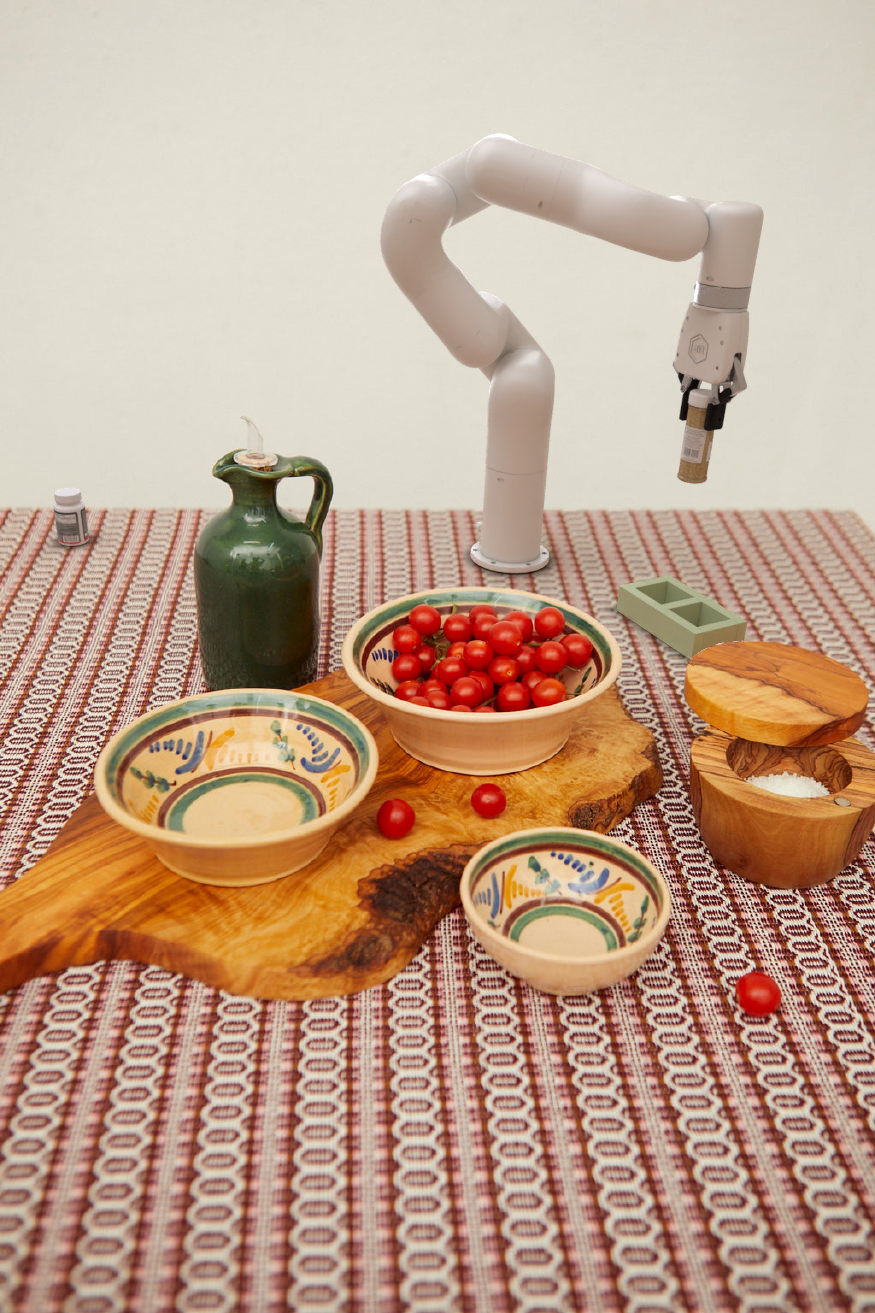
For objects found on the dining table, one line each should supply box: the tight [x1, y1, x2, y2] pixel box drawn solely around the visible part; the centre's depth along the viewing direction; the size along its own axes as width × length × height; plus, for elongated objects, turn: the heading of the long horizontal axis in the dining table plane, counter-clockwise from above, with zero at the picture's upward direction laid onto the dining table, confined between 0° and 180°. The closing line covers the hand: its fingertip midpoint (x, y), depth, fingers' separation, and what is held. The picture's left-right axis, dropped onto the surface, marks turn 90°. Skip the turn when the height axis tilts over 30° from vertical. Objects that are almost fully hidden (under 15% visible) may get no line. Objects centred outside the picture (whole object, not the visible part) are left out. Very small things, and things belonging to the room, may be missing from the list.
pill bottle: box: [53, 487, 90, 547], centre depth 173 cm, size 5×5×8 cm
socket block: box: [616, 574, 748, 660], centre depth 155 cm, size 9×17×4 cm, turn 28°
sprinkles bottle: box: [676, 388, 715, 485], centre depth 163 cm, size 5×5×14 cm
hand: (700, 423), depth 162 cm, fingers closed on sprinkles bottle, 4 cm apart
